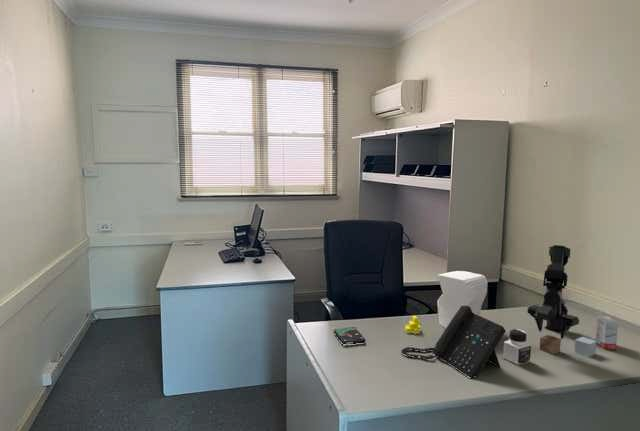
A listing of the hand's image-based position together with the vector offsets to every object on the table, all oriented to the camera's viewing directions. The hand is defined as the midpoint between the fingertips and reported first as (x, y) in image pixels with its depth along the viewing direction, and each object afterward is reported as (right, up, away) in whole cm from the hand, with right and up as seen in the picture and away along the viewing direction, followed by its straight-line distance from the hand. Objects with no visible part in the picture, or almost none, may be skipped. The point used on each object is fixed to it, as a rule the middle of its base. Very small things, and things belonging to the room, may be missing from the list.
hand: (550, 335), depth 179 cm
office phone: (-45, -8, -9) cm, 47 cm away
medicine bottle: (-18, -8, -8) cm, 21 cm away
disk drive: (-83, -6, +12) cm, 84 cm away
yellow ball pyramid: (-53, -4, +20) cm, 57 cm away
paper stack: (-27, -4, +26) cm, 38 cm away
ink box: (+26, -6, +6) cm, 28 cm away
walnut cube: (0, -7, +1) cm, 7 cm away
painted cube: (+13, -7, -2) cm, 15 cm away
